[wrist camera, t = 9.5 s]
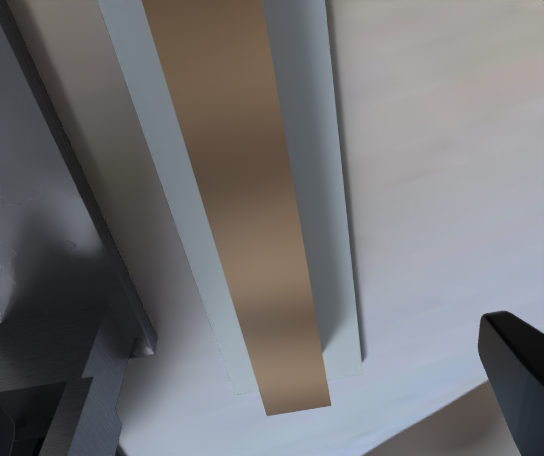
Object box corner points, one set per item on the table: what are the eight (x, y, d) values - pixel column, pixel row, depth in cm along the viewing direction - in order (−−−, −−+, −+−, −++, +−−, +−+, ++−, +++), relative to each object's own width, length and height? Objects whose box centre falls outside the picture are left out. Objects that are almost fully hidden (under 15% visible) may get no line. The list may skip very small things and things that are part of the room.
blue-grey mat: (360, 365, 25) (362, 374, 24) (235, 386, 25) (235, 395, 25) (285, -357, 11) (287, -370, 10) (3, -289, 11) (-7, -299, 11)
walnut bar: (321, 354, 23) (331, 405, 21) (264, 364, 23) (267, 416, 21) (199, -352, 10) (185, -445, 8) (73, -321, 10) (20, -403, 8)
